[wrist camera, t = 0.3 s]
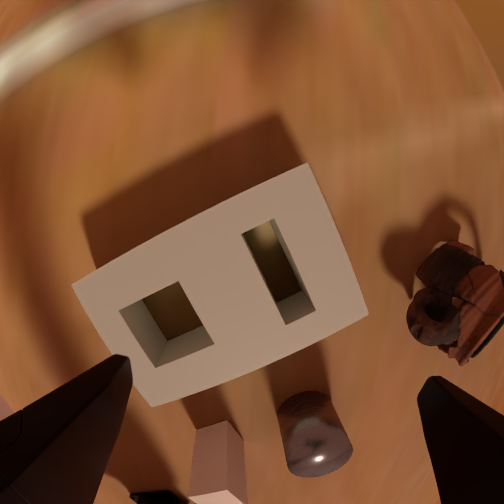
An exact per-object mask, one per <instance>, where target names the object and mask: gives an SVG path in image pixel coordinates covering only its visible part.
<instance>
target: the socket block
mask: <svg viewBox="0 0 504 504" xmlns="http://www.w3.org/2000/svg"><path fill="white" fill-rule="evenodd" d="M267 221H270V223H271V225H272V227H273V229H274V232H275V234H276V236H277V238H278V240H279V242H280V244H281V247H282V249H283V251H284V253H285V255H286V257H287V260H288V262H289V264H290V266H291V268H292V270H293V273H294V275H295V277H296V279H297V281H298V284H299V286H300V288H301V290H302V291H300V292H298V293H296V294H294V295H292V296H290V297H288V298H286V299H284V300H282V301H280V302H277V303H276V301H275V299H274V297H273V295H272V292H271V290H270V288H269V286H268V284H267V282H266V280H265V278H264V276H263V274H262V272H261V270H260V268H259V266H258V264H257V262H256V260H255V258H254V256H253V254H252V252H251V250H250V248H249V246H248V244H247V241H246V239H245V237H244V235H243V233H244V232H246V231H248V230H250V229H253V228H255V227H257V226H259V225H261V224H263V223H265V222H267ZM177 281H179V283H180V285H181V287H182V288H183V290H184V292H185V294H186V296H187V297H188V299H189V301H190V303H191V304H192V306H193V308H194V310H195V311H196V313H197V315H198V317H199V318H200V320H201V322H202V323H203V326H200V327H198V328H196V329H194V330H191V331H189V332H187V333H184V334H182V335H180V336H178V337H175V338H173V339H171V340H168V341H167V340H166V338H165V336H164V335H163V333H162V332H161V330H160V328H159V327H158V325H157V324H156V322H155V320H154V319H153V317H152V315H151V314H150V312H149V310H148V308H147V307H146V305H145V303H144V302H143V300H142V299H143V298H145V297H147V296H149V295H151V294H153V293H155V292H157V291H159V290H161V289H163V288H165V287H167V286H169V285H171V284H173V283H175V282H177ZM71 286H72V288H73V290H74V292H75V294H76V296H77V297H78V299H79V301H80V303H81V305H82V306H83V308H84V310H85V312H86V313H87V315H88V317H89V318H90V320H91V322H92V324H93V325H94V327H95V328H96V330H97V332H98V333H99V335H100V337H101V338H102V340H103V341H104V343H105V344H106V346H107V347H108V349H109V350H110V352H111V353H112V355H114V354H120V355H124V356H128V357H129V358H130V361H131V368H132V375H133V384H134V386H135V387H136V388H137V390H138V391H139V392H140V394H141V395H142V396H143V397H144V399H145V400H146V401H147V402H148V404H149V405H150V406H151V407H155V406H158V405H162V404H165V403H168V402H171V401H174V400H177V399H180V398H183V397H186V396H189V395H192V394H195V393H197V392H200V391H203V390H206V389H209V388H211V387H214V386H217V385H219V384H222V383H224V382H227V381H230V380H232V379H235V378H237V377H240V376H242V375H245V374H247V373H249V372H252V371H254V370H257V369H259V368H261V367H264V366H266V365H268V364H271V363H273V362H275V361H277V360H280V359H282V358H284V357H286V356H288V355H290V354H293V353H295V352H297V351H299V350H301V349H303V348H305V347H307V346H309V345H311V344H313V343H316V342H318V341H320V340H322V339H324V338H326V337H327V336H329V335H331V334H333V333H335V332H337V331H339V330H341V329H343V328H345V327H347V326H349V325H350V324H352V323H354V322H356V321H358V320H360V319H361V318H363V317H365V316H367V315H369V313H368V310H367V307H366V304H365V302H364V299H363V296H362V293H361V290H360V287H359V285H358V282H357V279H356V276H355V274H354V271H353V268H352V266H351V263H350V260H349V258H348V255H347V253H346V250H345V248H344V245H343V243H342V240H341V238H340V235H339V233H338V230H337V228H336V225H335V223H334V221H333V218H332V216H331V214H330V211H329V209H328V207H327V204H326V202H325V200H324V197H323V195H322V193H321V191H320V188H319V186H318V184H317V182H316V180H315V177H314V175H313V173H312V171H311V169H310V167H309V165H308V163H305V164H303V165H300V166H298V167H296V168H293V169H291V170H289V171H287V172H285V173H282V174H280V175H278V176H276V177H274V178H271V179H269V180H267V181H265V182H263V183H261V184H259V185H256V186H254V187H252V188H250V189H248V190H246V191H244V192H242V193H240V194H238V195H235V196H233V197H231V198H229V199H227V200H225V201H223V202H221V203H219V204H217V205H215V206H213V207H211V208H209V209H207V210H205V211H203V212H201V213H199V214H197V215H195V216H193V217H191V218H189V219H188V220H186V221H184V222H182V223H180V224H178V225H176V226H174V227H172V228H170V229H168V230H167V231H165V232H163V233H161V234H159V235H157V236H155V237H153V238H152V239H150V240H148V241H146V242H144V243H143V244H141V245H139V246H137V247H135V248H133V249H132V250H130V251H128V252H126V253H125V254H123V255H121V256H119V257H118V258H116V259H114V260H112V261H111V262H109V263H107V264H105V265H104V266H102V267H100V268H98V269H97V270H95V271H93V272H92V273H90V274H88V275H87V276H85V277H83V278H82V279H80V280H78V281H77V282H75V283H73V284H72V285H71Z"/></svg>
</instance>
